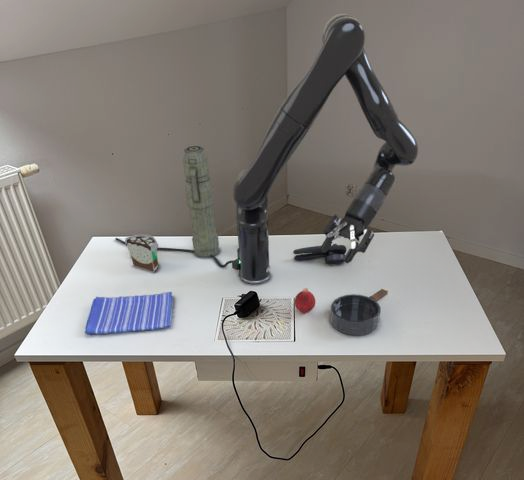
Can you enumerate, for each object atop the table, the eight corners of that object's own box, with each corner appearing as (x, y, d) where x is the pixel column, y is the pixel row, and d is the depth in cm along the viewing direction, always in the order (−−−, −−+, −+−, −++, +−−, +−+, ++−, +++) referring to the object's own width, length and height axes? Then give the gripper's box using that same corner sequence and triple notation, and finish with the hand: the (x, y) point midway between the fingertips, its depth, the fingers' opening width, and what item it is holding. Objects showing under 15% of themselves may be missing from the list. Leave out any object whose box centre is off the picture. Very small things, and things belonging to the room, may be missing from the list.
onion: (313, 319, 133) (314, 295, 128) (293, 317, 134) (293, 293, 129) (315, 307, 138) (316, 284, 133) (296, 306, 139) (296, 282, 134)
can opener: (346, 256, 161) (347, 240, 157) (346, 266, 155) (347, 250, 152) (294, 254, 163) (294, 239, 160) (292, 264, 158) (292, 249, 154)
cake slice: (169, 265, 161) (164, 238, 154) (157, 274, 157) (152, 246, 150) (143, 257, 166) (137, 230, 160) (130, 265, 162) (123, 238, 156)
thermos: (193, 261, 162) (177, 155, 140) (195, 245, 172) (181, 143, 149) (219, 259, 163) (207, 153, 140) (220, 243, 172) (209, 141, 150)
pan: (320, 322, 132) (321, 308, 129) (350, 303, 139) (351, 289, 136) (358, 343, 125) (360, 328, 121) (388, 321, 131) (390, 307, 128)
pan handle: (372, 305, 133) (373, 300, 132) (366, 302, 134) (367, 297, 133) (387, 295, 136) (388, 290, 135) (381, 293, 138) (382, 287, 136)
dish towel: (95, 303, 145) (93, 295, 143) (173, 296, 146) (172, 288, 144) (84, 337, 131) (81, 329, 129) (170, 329, 132) (169, 321, 131)
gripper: (340, 191, 132) (309, 242, 134) (380, 206, 123) (346, 260, 125) (352, 204, 138) (322, 253, 140) (391, 219, 129) (358, 271, 131)
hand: (333, 256), depth 132 cm, fingers open, 8 cm apart
